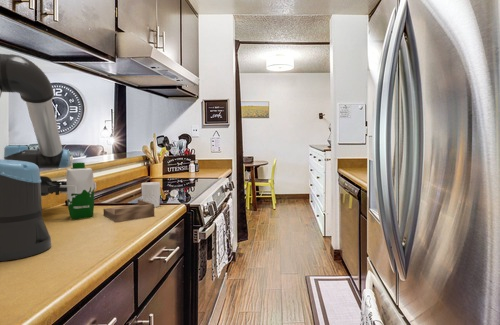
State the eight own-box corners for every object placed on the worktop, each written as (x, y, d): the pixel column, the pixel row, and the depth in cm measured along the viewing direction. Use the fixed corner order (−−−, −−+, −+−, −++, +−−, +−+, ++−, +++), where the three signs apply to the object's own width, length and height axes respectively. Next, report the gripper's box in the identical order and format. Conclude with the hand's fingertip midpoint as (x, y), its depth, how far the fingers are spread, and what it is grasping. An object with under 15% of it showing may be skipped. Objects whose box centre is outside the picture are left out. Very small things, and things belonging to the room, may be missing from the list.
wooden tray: (115, 222, 112) (115, 209, 112) (103, 215, 122) (103, 203, 122) (154, 216, 121) (154, 204, 121) (140, 210, 131) (139, 199, 131)
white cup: (155, 208, 135) (154, 184, 135) (138, 207, 137) (137, 184, 136) (164, 204, 143) (163, 182, 142) (147, 204, 144) (147, 182, 144)
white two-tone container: (92, 213, 126) (90, 162, 125) (96, 217, 119) (94, 163, 118) (66, 216, 122) (64, 163, 120) (68, 221, 114) (66, 164, 113)
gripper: (60, 191, 135) (106, 193, 130) (10, 200, 114) (62, 203, 109) (60, 173, 135) (106, 174, 129) (9, 179, 114) (61, 181, 108)
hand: (86, 187), depth 119 cm, fingers open, 9 cm apart
